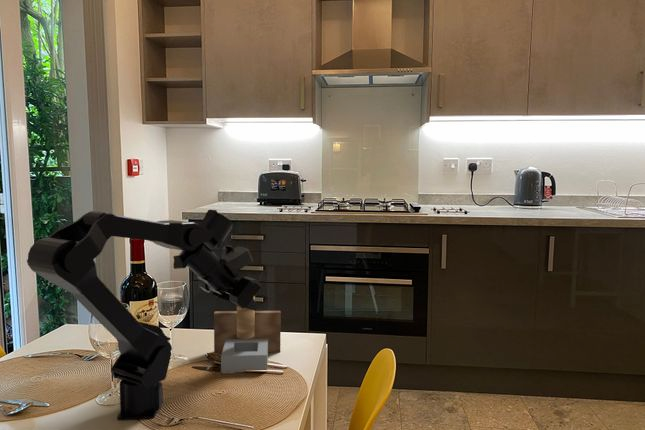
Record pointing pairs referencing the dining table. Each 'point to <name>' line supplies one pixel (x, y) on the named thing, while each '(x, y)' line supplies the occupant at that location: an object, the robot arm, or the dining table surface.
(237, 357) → the socket block
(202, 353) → the dining table surface
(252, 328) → the dowel
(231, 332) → the backstop board
